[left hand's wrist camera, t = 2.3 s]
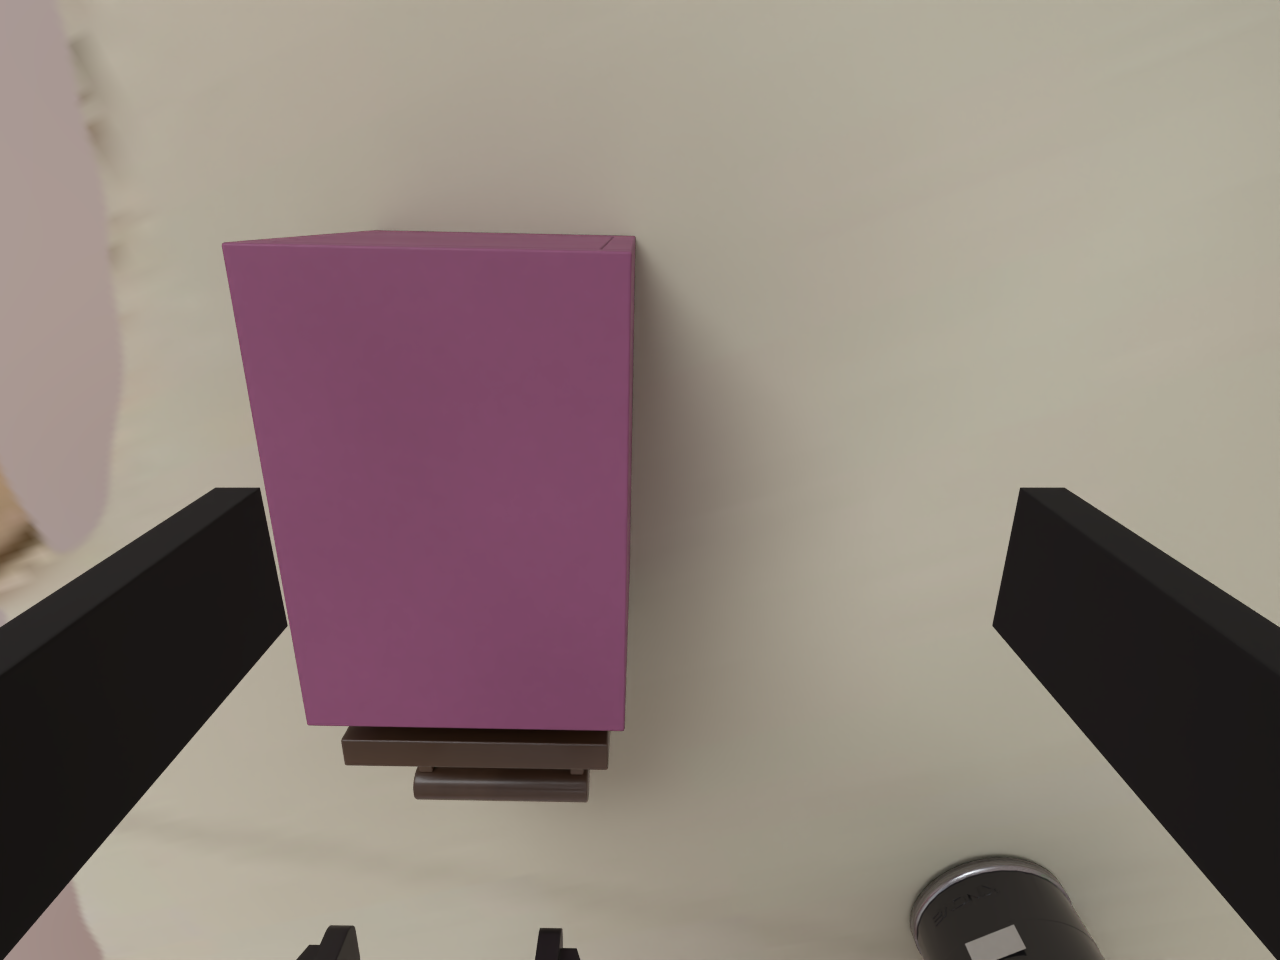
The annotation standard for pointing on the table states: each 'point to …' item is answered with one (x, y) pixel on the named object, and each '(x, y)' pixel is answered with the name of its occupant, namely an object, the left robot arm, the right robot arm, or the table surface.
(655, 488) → the table surface
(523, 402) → the cabinet
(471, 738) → the drawer
